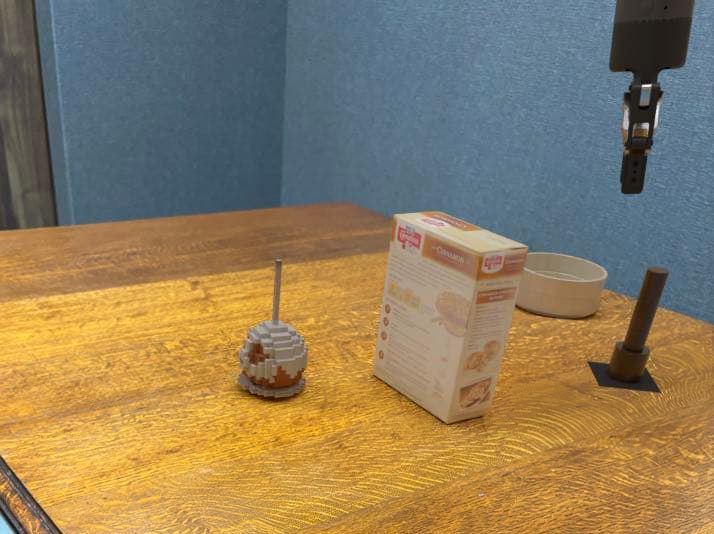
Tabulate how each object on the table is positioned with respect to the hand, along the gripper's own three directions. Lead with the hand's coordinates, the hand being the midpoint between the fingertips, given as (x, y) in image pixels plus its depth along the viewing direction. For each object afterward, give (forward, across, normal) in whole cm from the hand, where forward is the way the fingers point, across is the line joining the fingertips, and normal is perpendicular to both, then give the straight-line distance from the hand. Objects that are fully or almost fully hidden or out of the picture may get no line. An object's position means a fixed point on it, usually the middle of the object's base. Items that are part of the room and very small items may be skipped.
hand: (630, 188), depth 91 cm
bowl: (+21, +32, +8) cm, 39 cm away
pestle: (+24, +6, -2) cm, 25 cm away
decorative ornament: (+19, -17, +38) cm, 46 cm away
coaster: (+24, +6, -2) cm, 25 cm away
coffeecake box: (+22, -10, +20) cm, 32 cm away
